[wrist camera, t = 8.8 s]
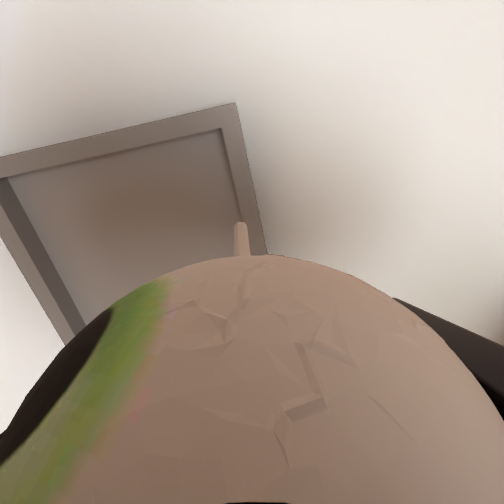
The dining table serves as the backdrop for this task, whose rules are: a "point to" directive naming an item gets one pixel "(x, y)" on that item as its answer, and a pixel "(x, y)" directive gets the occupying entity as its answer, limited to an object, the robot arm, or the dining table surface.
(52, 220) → the tray
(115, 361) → the lollipop
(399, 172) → the dining table surface
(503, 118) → the dining table surface
